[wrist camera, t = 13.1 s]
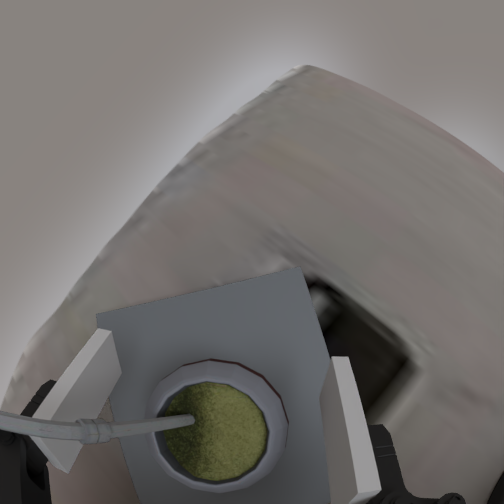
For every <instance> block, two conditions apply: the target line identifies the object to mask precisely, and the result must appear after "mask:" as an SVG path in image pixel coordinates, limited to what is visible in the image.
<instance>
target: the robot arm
mask: <svg viewBox="0 0 504 504" xmlns="http://www.w3.org/2000/svg"><path fill="white" fill-rule="evenodd" d="M121 374H122V371H121V367H120V364H119V360H118V356H117V352H116V348H115V343H114V339H113V335H112V331H109V330H104V329H100V328H98V329H97V330H96V332H95V333H94V334H93V335H92V337H91V338H90V339H89V340H88V342H87V343H86V344H85V346H84V347H83V348H82V349H81V351H80V352H79V353H78V355H77V356H76V357H75V358H74V360H73V361H72V362H71V364H70V365H69V366H68V368H67V369H66V370H65V372H64V373H63V374H62V376H61V377H60V378H59V380H58V381H57V382H56V381H53V380H49V381H48V382H46V383H45V384H43V385H42V386H41V387H40V388H39V390H38V391H37V392H36V395H34V396H33V398H32V399H31V402H29V403H28V405H27V406H26V407H25V409H24V410H23V412H22V413H21V414H20V415H21V416H26V417H32V418H37V419H44V420H52V421H61V422H75V421H76V420H78V419H97V417H98V415H99V414H100V412H101V410H102V408H103V406H104V404H105V403H106V401H107V399H108V397H109V395H110V393H111V392H112V390H113V388H114V386H115V384H116V383H117V381H118V379H119V377H120V376H121ZM319 401H320V409H321V416H322V424H323V432H324V440H325V449H326V458H327V467H328V477H329V487H330V498H331V504H466V502H465V500H464V498H463V497H462V496H461V495H459V494H458V493H448V494H445V495H444V496H443V497H441V498H440V499H430V498H418V497H415V496H413V495H412V494H411V493H409V492H408V491H407V489H406V488H405V485H404V482H403V478H402V474H401V471H400V467H399V463H398V460H397V456H396V455H395V454H396V452H395V449H394V447H393V442H392V439H391V435H390V433H389V432H388V431H387V429H386V428H385V427H384V426H383V424H380V425H369V426H367V424H366V420H365V416H364V412H363V408H362V404H361V401H360V397H359V393H358V389H357V386H356V382H355V379H354V375H353V372H352V368H351V365H350V361H349V358H348V357H331V361H330V364H329V368H328V371H327V374H326V377H325V381H324V384H323V387H322V390H321V393H320V396H319ZM82 446H83V444H81V443H80V442H79V441H78V440H59V439H49V438H41V437H35V436H29V435H24V434H19V433H14V432H10V431H5V430H1V429H0V504H52V502H51V494H50V484H49V473H48V468H47V466H46V463H47V461H48V460H49V461H50V463H51V464H52V465H53V466H54V467H56V468H58V469H60V470H62V471H64V472H66V473H68V474H69V472H70V470H71V468H72V466H73V464H74V462H75V460H76V458H77V456H78V454H79V452H80V450H81V448H82ZM488 504H504V474H503V476H502V477H501V479H500V481H499V482H498V484H497V486H496V488H495V490H494V491H493V493H492V495H491V498H490V500H489V502H488Z"/></svg>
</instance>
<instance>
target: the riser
mask: <svg viewBox="0 0 504 504" xmlns="http://www.w3.org/2000/svg"><path fill="white" fill-rule="evenodd" d="M96 318H97V327H98V328H100V329H104V330H109V331H112V335H113V339H114V343H115V348H116V352H117V356H118V360H119V364H120V367H121V371H122V374H121V376H120V377H119V379H118V381H117V383H116V384H115V386H114V388H113V390H112V392H111V393H110V395H109V400H110V405H111V409H112V413H113V417H114V422H119V421H132V420H143V419H144V416H145V408H146V403H147V401H148V400H149V398H150V396H151V395H152V393H153V392H154V390H155V388H156V387H157V385H158V383H159V382H160V381H161V380H162V379H163V378H165V377H166V376H168V375H169V374H171V373H172V372H174V371H175V370H176V369H178V368H179V367H181V366H182V365H184V364H188V363H193V362H197V361H202V360H206V359H210V358H212V359H219V360H226V361H233V362H239V363H241V364H243V365H245V366H247V367H249V368H250V369H252V370H254V371H256V372H258V373H260V374H262V375H263V376H264V377H265V378H266V379H267V380H268V381H269V383H270V384H271V385H272V386H273V387H274V388H275V390H276V391H277V392H278V393H279V394H280V395H281V398H282V401H283V404H284V408H285V411H286V414H287V417H288V420H289V426H288V433H287V441H286V448H285V451H284V452H283V454H282V456H281V457H280V459H279V460H278V462H277V464H276V465H275V467H274V468H273V470H272V471H271V473H269V474H268V475H266V476H265V477H263V478H262V479H260V480H259V481H257V482H256V483H254V484H253V485H251V486H250V487H248V488H244V489H240V490H235V491H230V492H224V493H215V492H208V491H202V490H196V489H192V488H190V487H188V486H186V485H185V484H183V483H181V482H179V481H177V480H176V479H174V478H172V477H171V476H169V475H168V474H167V473H166V472H165V471H164V470H163V469H162V467H161V466H160V465H159V464H158V463H157V461H156V460H155V459H154V458H153V456H152V455H151V454H150V450H149V447H148V444H147V441H146V438H145V434H139V435H132V436H125V437H119V440H120V444H121V448H122V451H123V454H124V458H125V461H126V464H127V467H128V470H129V473H130V476H131V479H132V482H133V485H134V487H135V490H136V493H137V495H138V498H139V501H140V503H141V504H327V503H330V502H331V498H330V487H329V477H328V467H327V458H326V449H325V440H324V432H323V424H322V416H321V409H320V401H319V396H320V393H321V390H322V387H323V384H324V381H325V377H326V374H327V371H328V368H329V364H330V357H329V354H328V351H327V347H326V344H325V341H324V338H323V334H322V331H321V328H320V325H319V322H318V319H317V315H316V312H315V309H314V306H313V303H312V300H311V297H310V294H309V291H308V288H307V285H306V282H305V279H304V276H303V273H302V270H301V267H300V266H299V267H296V268H292V269H288V270H284V271H280V272H276V273H272V274H268V275H264V276H260V277H256V278H252V279H248V280H244V281H240V282H235V283H231V284H227V285H223V286H219V287H215V288H210V289H206V290H202V291H198V292H193V293H189V294H185V295H180V296H176V297H172V298H167V299H163V300H158V301H154V302H149V303H145V304H140V305H136V306H131V307H127V308H122V309H117V310H113V311H108V312H103V313H98V314H96Z"/></svg>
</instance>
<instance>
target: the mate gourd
mask: <svg viewBox="0 0 504 504" xmlns="http://www.w3.org/2000/svg"><path fill="white" fill-rule="evenodd" d="M288 426H289V420H288V417H287V414H286V411H285V408H284V404H283V401H282V398H281V395H280V394H279V393H278V392H277V391H276V390H275V388H274V387H273V386H272V385H271V384H270V383H269V381H268V380H267V379H266V378H265V377H264V376H263V375H262V374H260V373H258V372H256V371H254V370H252V369H250V368H249V367H247V366H245V365H243V364H241V363H239V362H233V361H226V360H219V359H212V358H210V359H206V360H202V361H197V362H193V363H188V364H184V365H182V366H181V367H179V368H178V369H176V370H175V371H174V372H172V373H171V374H169V375H168V376H166V377H165V378H163V379H162V380H161V381H160V382H159V383H158V385H157V387H156V388H155V390H154V392H153V393H152V395H151V396H150V398H149V400H148V401H147V403H146V408H145V416H144V419H143V420H132V421H119V422H106V421H105V420H103V419H78V420H76V421H75V422H61V421H52V420H44V419H37V418H32V417H26V416H21V415H17V414H12V413H8V412H3V411H0V429H1V430H5V431H10V432H14V433H19V434H24V435H29V436H35V437H41V438H49V439H59V440H78V441H79V442H80V443H81V444H96V443H105V442H109V441H110V438H118V437H125V436H132V435H139V434H145V438H146V441H147V444H148V447H149V450H150V454H151V455H152V456H153V458H154V459H155V460H156V461H157V463H158V464H159V465H160V466H161V467H162V469H163V470H164V471H165V472H166V473H167V474H168V475H169V476H171V477H172V478H174V479H176V480H177V481H179V482H181V483H183V484H185V485H186V486H188V487H190V488H192V489H196V490H202V491H208V492H215V493H224V492H230V491H235V490H240V489H244V488H248V487H250V486H251V485H253V484H254V483H256V482H257V481H259V480H260V479H262V478H263V477H265V476H266V475H268V474H269V473H271V471H272V470H273V468H274V467H275V465H276V464H277V462H278V460H279V459H280V457H281V456H282V454H283V452H284V451H285V448H286V441H287V433H288Z"/></svg>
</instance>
